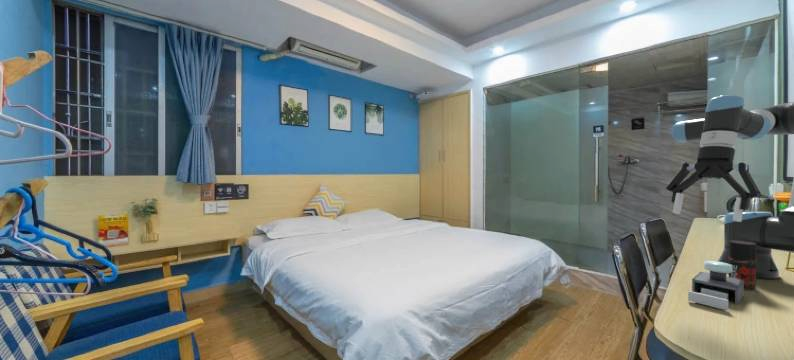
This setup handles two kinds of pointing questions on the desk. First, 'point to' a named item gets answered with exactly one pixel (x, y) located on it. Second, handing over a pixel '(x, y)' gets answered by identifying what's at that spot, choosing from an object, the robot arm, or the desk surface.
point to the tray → (710, 298)
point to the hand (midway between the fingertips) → (704, 217)
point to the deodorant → (743, 262)
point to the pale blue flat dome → (718, 266)
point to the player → (719, 283)
